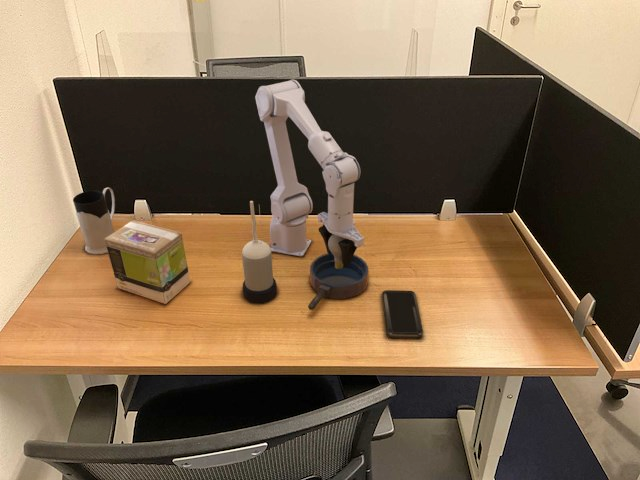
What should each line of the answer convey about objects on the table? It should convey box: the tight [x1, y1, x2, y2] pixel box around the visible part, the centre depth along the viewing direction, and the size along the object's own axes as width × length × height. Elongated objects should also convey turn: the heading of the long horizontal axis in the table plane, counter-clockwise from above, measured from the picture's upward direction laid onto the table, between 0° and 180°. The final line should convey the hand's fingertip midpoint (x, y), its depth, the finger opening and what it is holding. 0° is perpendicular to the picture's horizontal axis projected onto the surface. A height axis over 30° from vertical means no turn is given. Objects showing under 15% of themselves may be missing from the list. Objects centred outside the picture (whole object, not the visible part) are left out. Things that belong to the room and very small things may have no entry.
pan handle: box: [307, 284, 331, 311], centre depth 117 cm, size 9×2×2 cm, turn 153°
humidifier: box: [241, 200, 278, 305], centre depth 116 cm, size 8×8×25 cm
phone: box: [381, 289, 424, 339], centre depth 115 cm, size 8×1×15 cm
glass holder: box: [72, 187, 116, 255], centre depth 138 cm, size 9×14×15 cm, turn 167°
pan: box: [309, 252, 369, 300], centre depth 125 cm, size 14×14×4 cm
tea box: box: [105, 219, 191, 305], centre depth 121 cm, size 15×10×15 cm
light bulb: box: [328, 234, 345, 269], centre depth 121 cm, size 5×5×10 cm
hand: (339, 257), depth 122 cm, fingers closed on light bulb, 5 cm apart
